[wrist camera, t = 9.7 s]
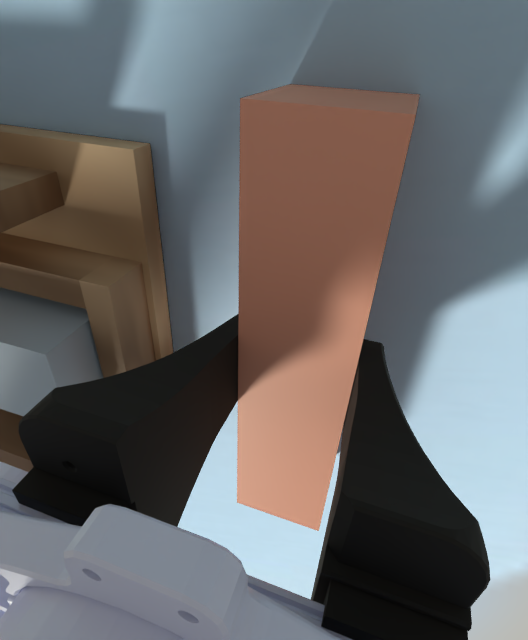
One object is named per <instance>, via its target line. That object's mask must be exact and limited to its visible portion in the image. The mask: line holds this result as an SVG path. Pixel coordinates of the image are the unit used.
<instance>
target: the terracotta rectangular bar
mask: <svg viewBox="0 0 528 640" xmlns="http://www.w3.org/2000/svg"><path fill="white" fill-rule="evenodd" d="M419 96H420V95H419V94H407V93H395V92H382V91H370V90H357V89H345V88H333V87H320V86H308V85H295V84H289V85H286V86H282V87H278V88H275V89H271V90H268V91H264V92H261V93H257V94H254V95H250V96H247V97H243V98H240V194H239V325H238V456H237V503H240V504H243V505H246V506H249V507H252V508H255V509H257V510H260V511H263V512H266V513H269V514H272V515H274V516H277V517H280V518H283V519H286V520H289V521H292V522H294V523H297V524H300V525H303V526H306V527H309V528H312V529H314V530H317V531H319V527H320V523H321V518H322V514H323V510H324V505H325V501H326V497H327V493H328V488H329V484H330V480H331V476H332V471H333V467H334V463H335V458H336V454H337V450H338V446H339V441H340V437H341V433H342V429H343V424H344V420H345V416H346V411H347V407H348V403H349V399H350V394H351V390H352V386H353V382H354V377H355V373H356V369H357V364H358V360H359V356H360V352H361V347H362V343H363V339H364V335H365V330H366V326H367V322H368V317H369V313H370V309H371V305H372V300H373V296H374V292H375V288H376V283H377V279H378V275H379V270H380V266H381V262H382V258H383V253H384V249H385V245H386V240H387V236H388V232H389V228H390V223H391V219H392V215H393V211H394V206H395V202H396V198H397V193H398V189H399V185H400V181H401V176H402V172H403V168H404V164H405V159H406V155H407V151H408V146H409V142H410V138H411V134H412V129H413V125H414V121H415V117H416V112H417V106H418V101H419Z"/></svg>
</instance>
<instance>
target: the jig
mask: <svg viewBox="0 0 528 640" xmlns="http://www.w3.org/2000/svg"><path fill="white" fill-rule="evenodd" d="M0 287H1V288H5V289H9V290H13V291H17V292H21V293H25V294H29V295H32V296H36V297H40V298H44V299H48V300H52V301H56V302H60V303H64V304H68V305H72V306H76V307H80V308H84V309H86V310H87V314H88V318H89V322H90V326H91V330H92V334H93V338H94V342H95V346H96V349H97V353H98V357H99V361H100V365H101V369H102V373H103V377H104V378H105V377H109V376H113V375H116V374H120V373H123V372H126V371H129V370H132V369H135V368H137V367H140V366H143V365H146V364H149V363H151V362H154V361H156V360H158V359H161V358H163V357H165V356H168V355H170V354H172V353H173V345H172V336H171V327H170V318H169V309H168V300H167V291H166V282H165V273H164V264H163V255H162V246H161V237H160V228H159V219H158V210H157V201H156V192H155V183H154V174H153V165H152V156H151V147H150V144H149V143H142V142H134V141H126V140H119V139H111V138H103V137H95V136H88V135H80V134H72V133H65V132H57V131H49V130H41V129H34V128H26V127H18V126H11V125H3V124H0ZM22 417H23V416H21V415H18V414H15V413H12V412H9V411H6V410H3V409H0V462H3V463H6V464H8V465H11V466H13V467H16V468H19V469H21V470H24V471H26V472H29V471H30V470H31V469H32V468H33V465H32V462H31V460H30V458H29V456H28V454H27V452H26V450H25V448H24V445H23V443H22V441H21V438H20V435H19V431H18V428H19V422H20V420H21V419H22Z"/></svg>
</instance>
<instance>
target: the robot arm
mask: <svg viewBox="0 0 528 640" xmlns="http://www.w3.org/2000/svg"><path fill="white" fill-rule="evenodd" d="M238 325H239V314H238V315H236V316H234V317H233V318H231V319H230V320H228V321H227V322H225V323H224V324H222V325H221V326H219V327H217V328H216V329H214V330H213V331H211V332H210V333H208V334H206V335H205V336H203V337H201V338H200V339H198V340H196V341H194V342H193V343H191V344H189V345H187V346H185V347H184V348H182V349H180V350H178V351H176V352H174V353H172V354H170V355H168V356H165V357H163V358H161V359H158V360H156V361H154V362H151V363H149V364H146V365H143V366H140V367H137V368H135V369H132V370H129V371H126V372H123V373H120V374H116V375H113V376H109V377H105V378H101V379H97V380H93V381H89V382H84V383H79V384H73V385H68V386H63V387H57V388H54V389H53V390H52V391H51V392H50V393H49V394H48V395H46V396H45V397H44V398H43V399H42V400H41V401H40V402H39V403H38V404H37V405H36V406H34V407H33V408H32V409H31V410H30V411H29V412H28V413H27V414H26V415H25V416H23V417H22V419H21V420H20V422H19V428H18V431H19V435H20V438H21V441H22V443H23V445H24V448H25V450H26V452H27V454H28V456H29V458H30V460H31V462H32V465H33V468H32V469H31V470H30V471H29V472H26V471H24V470H21V469H19V468H16V467H13V466H11V465H8V464H6V463H3V462H0V640H468V633H467V630H468V631H469V630H470V629H471V625H472V622H471V608H470V607H471V606H472V604H473V603H474V602H475V600H477V598H478V597H479V596H480V595H481V594H482V592H483V591H484V590H485V589H486V588H487V585H488V583H489V581H490V569H489V561H488V556H487V551H486V548H485V544H484V540H483V536H482V533H481V529H480V526H479V523H478V521H477V520H476V518H475V517H474V516H473V515H472V514H471V513H470V512H469V510H468V509H467V508H466V507H465V506H464V505H463V504H462V502H461V501H460V500H459V499H458V498H457V497H456V496H455V494H454V493H453V492H452V491H451V490H450V488H449V487H448V486H447V484H446V483H445V482H444V480H443V479H442V478H441V476H440V475H439V474H438V472H437V471H436V469H435V468H434V466H433V465H432V463H431V462H430V460H429V459H428V457H427V456H426V454H425V453H424V451H423V450H422V448H421V446H420V444H419V443H418V441H417V439H416V437H415V436H414V434H413V432H412V430H411V428H410V426H409V424H408V422H407V420H406V418H405V416H404V414H403V411H402V409H401V407H400V404H399V402H398V399H397V397H396V394H395V391H394V388H393V385H392V382H391V379H390V376H389V373H388V369H387V365H386V360H385V354H384V346H383V345H382V343H378V342H374V341H370V340H365V339H363V343H362V347H361V352H360V356H359V360H358V364H357V369H356V373H355V377H354V382H353V386H352V390H351V394H350V399H349V403H348V407H347V411H346V416H345V420H344V426H343V435H342V443H341V452H340V461H339V469H338V476H337V482H336V487H335V491H334V496H333V501H332V505H331V510H330V514H329V519H328V524H327V528H326V533H325V537H324V542H323V547H322V551H321V556H320V560H319V565H318V569H317V574H316V578H315V583H314V587H313V592H312V597H311V600H310V599H307V598H305V597H302V596H300V595H297V594H295V593H292V592H290V591H287V590H285V589H282V588H280V587H277V586H274V585H272V584H269V583H267V582H264V581H262V580H259V579H257V578H254V577H252V576H249V575H247V574H246V572H245V570H244V568H243V565H242V563H241V561H240V560H239V559H238V558H237V557H236V556H235V555H234V554H232V553H231V552H230V551H229V550H228V549H227V548H225V547H223V546H221V545H219V544H217V543H215V542H213V541H211V540H209V539H207V538H204V537H202V536H199V535H197V534H194V533H191V532H189V531H186V530H183V529H181V528H178V527H177V526H178V523H179V521H180V518H181V516H182V513H183V511H184V508H185V506H186V504H187V501H188V499H189V496H190V494H191V491H192V489H193V487H194V484H195V482H196V480H197V477H198V475H199V473H200V470H201V468H202V466H203V464H204V462H205V459H206V457H207V455H208V453H209V451H210V448H211V446H212V444H213V442H214V440H215V438H216V436H217V434H218V433H219V431H220V429H221V428H222V426H223V424H224V422H225V421H226V419H227V417H228V416H229V414H230V412H231V411H232V409H233V407H234V406H235V404H236V402H237V401H238Z"/></svg>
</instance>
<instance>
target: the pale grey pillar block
mask: <svg viewBox="0 0 528 640" xmlns="http://www.w3.org/2000/svg"><path fill="white" fill-rule="evenodd" d="M101 378H104V377H103V373H102V369H101V365H100V361H99V357H98V353H97V349H96V346H95V342H94V338H93V334H92V330H91V326H90V322H89V318H88V314H87V310H86V309H84V308H80V307H76V306H72V305H68V304H64V303H60V302H56V301H52V300H48V299H44V298H40V297H36V296H32V295H29V294H25V293H21V292H17V291H13V290H9V289H5V288H1V287H0V409H3V410H6V411H9V412H12V413H15V414H18V415H21V416H25V415H26V414H27V413H28V412H29V411H30V410H31V409H32V408H33V407H34V406H36V405H37V404H38V403H39V402H40V401H41V400H42V399H43V398H44V397H45V396H46V395H48V394H49V393H50V392H51V391H52V390H53V389H54V388H57V387H63V386H68V385H73V384H79V383H84V382H89V381H93V380H97V379H101Z"/></svg>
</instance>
